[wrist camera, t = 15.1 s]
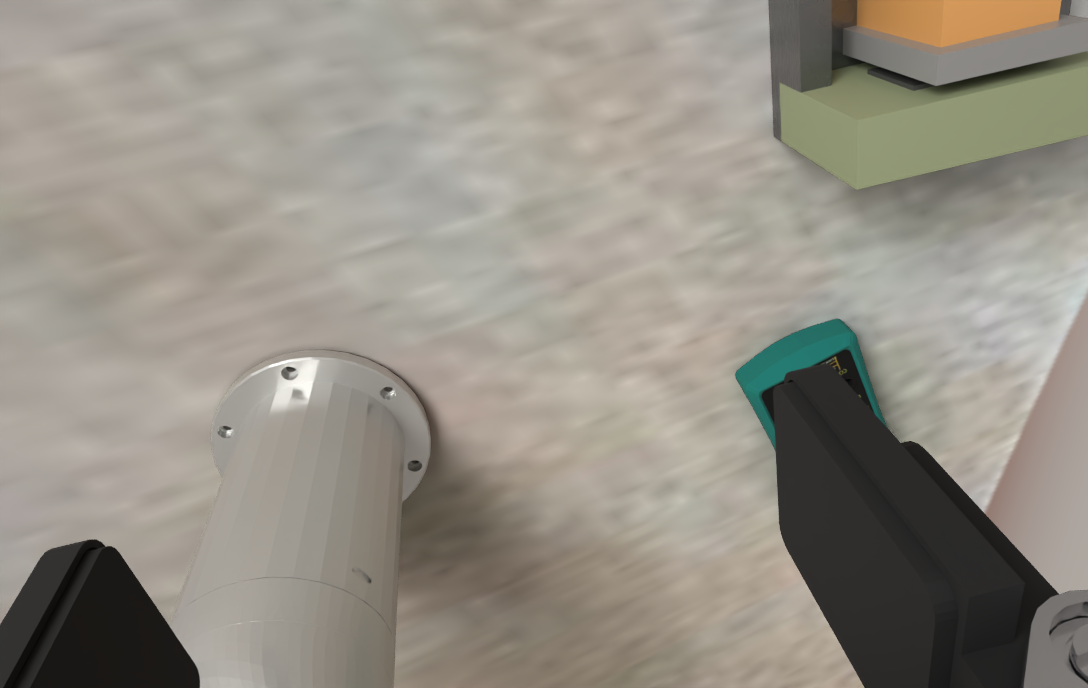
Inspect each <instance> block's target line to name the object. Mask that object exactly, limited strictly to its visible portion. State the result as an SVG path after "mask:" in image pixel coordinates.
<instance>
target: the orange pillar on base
mask: <svg viewBox="0 0 1088 688" xmlns="http://www.w3.org/2000/svg"><path fill="white" fill-rule="evenodd" d="M1060 7H1061V0H857V26H852V27H848V28H844V29H843V54H844V55H847V56H850V57H852V58H855V59H858V60H861V61H864V62H867V63H870V64H873V65H876V66H879V67H882V68H885V69H888V70H890V71H893V72H896V73H899V74H902V75H905V76H908V77H911V78H914V79H917V80H920V81H923V82H926V83H929V84H931V85H934V86H938V85H942V84H947V83H951V82H955V81H960V80H964V79H968V78H973V77H977V76H981V75H986V74H990V73H994V72H999V71H1003V70H1007V69H1011V68H1016V67H1020V66H1024V65H1029V64H1033V63H1037V62H1042V61H1046V60H1050V59H1055V58H1059V57H1063V56H1068V55H1072V54H1076V53H1080V52H1085V51H1088V18H1082V17H1076V16H1069V15H1063V14H1060Z"/></svg>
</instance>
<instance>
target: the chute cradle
mask: <svg viewBox="0 0 1088 688" xmlns="http://www.w3.org/2000/svg"><path fill="white" fill-rule="evenodd" d="M1070 5H1071V0H1061V7H1060V14H1063V15H1069V12H1070ZM769 20H770V46H771V72H772V98H773V124H774V137H776V138H777V139H779V140H780V141H782V142H784V143H785V144H787V145H788V146H790V147H791V148H793V149H794V150H796V151H797V152H799V153H800V154H802V155H804V156H805V157H807V158H808V159H810V160H811V161H813V162H814V163H816V164H817V165H819V166H821V167H822V168H824V169H825V170H827V171H828V172H830V173H831V174H833V175H834V176H836V177H837V178H839V179H841V180H842V181H844V182H845V183H847V184H848V185H850V186H851V187H853V188H854V189H856V190H858V189H862V188H866V187H871V186H875V185H879V184H883V183H887V182H892V181H896V180H900V179H904V178H909V177H913V176H917V175H921V174H925V173H930V172H934V171H938V170H942V169H947V168H951V167H955V166H959V165H964V164H968V163H972V162H976V161H980V160H985V159H989V158H993V157H997V156H1002V155H1006V154H1010V153H1014V152H1018V151H1023V150H1027V149H1031V148H1035V147H1040V146H1044V145H1048V144H1052V143H1057V142H1061V141H1065V140H1069V139H1073V138H1078V137H1082V136H1086V135H1088V51H1085V52H1080V53H1076V54H1072V55H1068V56H1063V57H1059V58H1055V59H1050V60H1046V61H1042V62H1037V63H1033V64H1029V65H1024V66H1020V67H1016V68H1011V69H1007V70H1003V71H999V72H994V73H990V74H986V75H981V76H977V77H973V78H968V79H964V80H960V81H955V82H951V83H947V84H942V85H938V86H934V85H931V84H929V83H926V82H923V81H920V80H917V79H914V78H911V77H908V76H905V75H902V74H899V73H896V72H893V71H890V70H888V69H885V68H882V67H879V66H876V65H873V64H870V63H867V62H864V61H861V60H858V59H855V58H852V57H850V56H847V55H844V54H843V29H844V28H848V27H852V26H857V0H769Z"/></svg>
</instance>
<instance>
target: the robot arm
mask: <svg viewBox="0 0 1088 688" xmlns="http://www.w3.org/2000/svg"><path fill="white" fill-rule="evenodd" d="M290 367H293V368H290ZM387 387H391V388H387ZM773 401H774V422H775V443H776V464H777V485H778V507H779V524H780V530H781V534H782V538H783V541H784V543H785V546H786V548H787V550H788V552H789V554H790V555H791V557H792V559H793V561H794V563H795V564H796V566H797V568H798V570H799V571H800V573H801V575H802V577H803V579H804V580H805V582H806V584H807V586H808V587H809V589H810V591H811V593H812V595H813V596H814V598H815V600H816V602H817V603H818V605H819V607H820V609H821V611H822V612H823V614H824V616H825V618H826V620H827V621H828V623H829V625H830V627H831V628H832V630H833V632H834V634H835V636H836V637H837V639H838V641H839V643H840V644H841V646H842V648H843V650H844V652H845V653H846V655H847V657H848V659H849V660H850V662H851V664H852V666H853V668H854V669H855V671H856V673H857V675H858V676H859V678H860V680H861V682H862V684H863V685H864V687H865V688H1088V590H1077V591H1068V592H1065V593H1062V594H1058V593H1057V591H1056V590H1055V589H1054V588H1053V587H1052V586H1051V585H1050V584H1049V583H1048V582H1047V581H1046V580H1045V578H1044V577H1043V576H1042V575H1041V574H1040V573H1039V572H1038V571H1037V570H1036V569H1035V568H1034V567H1033V566H1032V565H1031V563H1030V562H1029V561H1028V560H1027V559H1026V558H1025V557H1024V556H1023V555H1022V554H1021V552H1020V551H1019V550H1018V549H1017V548H1016V547H1015V546H1014V545H1013V544H1012V543H1011V542H1010V541H1009V539H1008V538H1007V537H1006V536H1005V535H1004V534H1003V533H1002V532H1001V531H1000V530H999V529H998V528H997V527H996V525H995V524H994V523H993V522H992V521H991V520H990V519H989V518H988V517H987V516H986V515H985V514H984V512H983V511H982V510H981V509H980V508H979V507H978V506H977V505H976V504H975V503H974V502H973V501H972V499H971V498H970V497H969V496H968V495H967V494H966V493H965V492H964V491H963V490H962V489H961V488H960V486H959V485H958V484H957V483H956V482H955V481H954V480H953V479H952V478H951V477H950V476H949V475H948V473H947V472H946V471H945V470H944V469H943V468H942V467H941V466H940V465H939V464H938V463H937V462H936V460H935V459H934V458H933V457H932V456H931V455H930V454H929V453H928V452H927V451H926V450H925V449H924V448H923V447H921V446H920V445H919V444H918V443H915V442H912V441H908V442H904V443H900V442H899V441H898V440H897V439H896V437H895V436H894V435H893V434H892V433H891V432H890V431H889V430H888V428H887V427H886V426H885V425H884V424H883V423H882V422H881V421H880V419H879V418H878V417H877V416H876V415H875V414H874V413H873V412H872V410H871V409H870V408H869V407H868V406H867V405H866V404H865V403H864V401H863V400H862V399H861V398H860V397H859V396H858V395H857V394H856V392H855V391H854V390H853V389H852V388H851V387H850V386H849V385H848V383H847V382H846V381H845V380H844V379H843V378H842V377H841V376H840V374H839V373H838V372H837V371H836V370H835V369H834V368H833V367H832V366H831V365H830V364H827V363H824V364H820V365H816V366H811V367H807V368H803V369H799V370H795V371H791V372H788V373H786V375H785V378H784V384H781V385H777V386H775V387H774V390H773ZM211 450H212V454H213V458H214V461H215V465H216V467H217V469H218V471H219V473H220V474H221V476H222V481H221V484H220V487H219V489H218V492H217V495H216V498H215V500H214V503H213V506H212V508H211V511H210V514H209V517H208V519H207V522H206V525H205V528H204V530H203V533H202V536H201V538H200V541H199V544H198V547H197V549H196V552H195V555H194V558H193V560H192V563H191V566H190V569H189V571H188V574H187V577H186V579H185V582H184V585H183V588H182V590H181V593H180V596H179V599H178V601H177V604H176V607H175V609H174V612H173V615H172V618H171V620H170V623H169V625H168V623H167V622H166V621H165V619H164V618H163V616H162V615H161V613H160V612H159V610H158V609H157V607H156V606H155V604H154V603H153V601H152V600H151V599H150V597H149V596H148V594H147V593H146V591H145V590H144V588H143V587H142V585H141V584H140V582H139V581H138V580H137V578H136V577H135V575H134V574H133V572H132V571H131V569H130V568H129V566H128V565H127V563H126V562H125V560H124V559H123V558H122V556H121V555H120V553H119V552H118V551H117V550H116V549H115V548H113V547H111V546H107V547H105V546H104V544H103V543H102V542H100V541H98V540H86V541H82V542H78V543H74V544H70V545H65V546H61V547H57V548H53V549H50V550H48V551H47V552H45V553H44V555H43V556H42V557H41V558H40V560H39V561H38V563H37V565H36V566H35V568H34V570H33V571H32V573H31V575H30V576H29V578H28V580H27V581H26V583H25V585H24V586H23V588H22V590H21V591H20V593H19V595H18V596H17V598H16V600H15V601H14V603H13V604H12V606H11V608H10V609H9V611H8V613H7V614H6V616H5V618H4V619H3V621H2V623H1V624H0V688H394V671H395V641H396V620H397V599H398V577H399V556H400V535H401V514H402V502H404V501H405V500H406V499H407V498H408V497H409V496H410V495H411V494H412V493H413V491H414V490H415V489H416V488H417V487H418V485H419V484H420V482H421V480H422V478H423V476H424V474H425V472H426V470H427V466H428V462H429V459H430V450H431V436H430V426H429V422H428V419H427V416H426V413H425V410H424V408H423V406H422V404H421V403H420V401H419V399H418V398H417V396H416V394H415V393H414V392H413V391H412V390H411V389H410V388H409V387H408V386H407V384H406V383H405V382H404V381H403V380H402V379H400V378H399V377H398V376H396V375H395V374H393V373H392V372H391V371H389V370H388V369H387V368H385V367H383V366H381V365H379V364H377V363H375V362H373V361H371V360H369V359H366V358H363V357H359V356H356V355H353V354H349V353H345V352H337V351H330V350H303V351H298V352H293V353H287V354H282V355H279V356H277V357H274V358H271V359H269V360H266V361H264V362H261V363H260V364H258V365H257V366H255V367H253V368H252V369H250V370H248V371H247V372H245V373H244V374H243V375H242V376H241V377H240V378H239V379H238V380H237V381H236V382H234V383H233V384H232V385H231V387H230V388H229V390H228V391H227V393H226V394H225V396H224V397H223V399H222V400H221V402H220V405H219V407H218V410H217V412H216V414H215V416H214V420H213V424H212V428H211Z"/></svg>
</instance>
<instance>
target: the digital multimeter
mask: <svg viewBox="0 0 1088 688" xmlns="http://www.w3.org/2000/svg"><path fill="white" fill-rule="evenodd" d="M824 363H827V364H830V365H831V366H832V367H833V368H834V369H835V370H836V371H837V372H838V373H839V374H840V376H841V377H842V378H843V379H844V380H845V381H846V382H847V383H848V385H849V386H850V387H851V388H852V389H853V390H854V391H855V392H856V394H857V395H858V396H859V397H860V398H861V399H862V400H863V401H864V403H865V404H866V405H867V406H868V407H869V408H870V409H871V410H872V412H873V413H874V414H875V415H876V416H877V417H878V418H879V419H880V421H881V422H882V423H883V424H884V425H885V426H886V423H885V421H884V418H883V416H882V413H881V411H880V408H879V406H878V403H877V400H876V397H875V394H874V391H873V388H872V385H871V382H870V379H869V376H868V373H867V370H866V367H865V364H864V360H863V357H862V354H861V350H860V347H859V344H858V340H857V337H856V335H855V333H854V332H853V331H852V330H851V329H850V328H849V327H848V326H847V325H845V324H844V323H843V322H842V321H841V320H840V319H834V320H831V321H827V322H824V323H821V324H817V325H814V326H811V327H808V328H806V329H803V330H800V331H798V332H795V333H792V334H791V335H789V336H787V337H785V338H783V339H781V340H779V341H777V342H775V343H774V344H772V345H771V346H769V347H768V348H766V349H765V350H763V351H762V352H761V353H759V354H758V355H756V356H755V357H754V358H753V359H751V360H750V361H749V362H748V363H746V364H745V365H744V366H742V367H741V368H740V369H739V370H738V371H737V372H736V374H735V376H736V379H737V381H738V383H739V385H740V386H741V388H742V390H743V392H744V393H745V395H746V397H747V398H748V400H749V402H750V404H751V405H752V407H753V409H754V411H755V413H756V415H757V416H758V418H759V420H760V422H761V424H762V426H763V428H764V429H765V431H766V433H767V435H768V437H769V439H770V440H771V443H772V445H773V447H774V449H775V451H776V443H775V425H774V424H775V422H774V401H773V390H774V387H775V386H777V385H781V384H784V378H785V375H786V373H788V372H791V371H795V370H799V369H803V368H807V367H811V366H816V365H820V364H824ZM772 420H773V421H772ZM773 422H774V423H773ZM886 427H887V426H886Z"/></svg>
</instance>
